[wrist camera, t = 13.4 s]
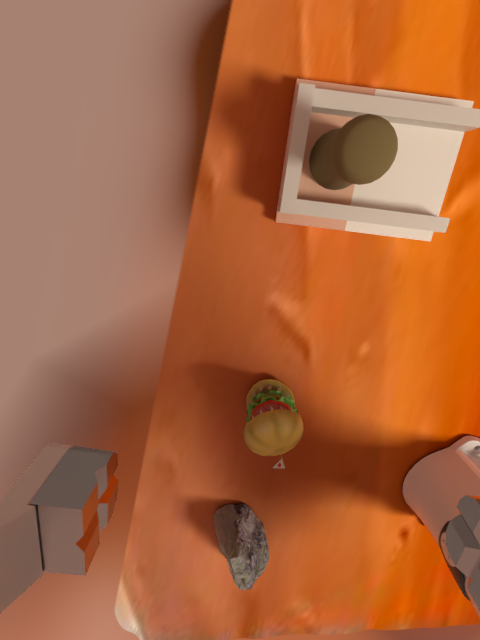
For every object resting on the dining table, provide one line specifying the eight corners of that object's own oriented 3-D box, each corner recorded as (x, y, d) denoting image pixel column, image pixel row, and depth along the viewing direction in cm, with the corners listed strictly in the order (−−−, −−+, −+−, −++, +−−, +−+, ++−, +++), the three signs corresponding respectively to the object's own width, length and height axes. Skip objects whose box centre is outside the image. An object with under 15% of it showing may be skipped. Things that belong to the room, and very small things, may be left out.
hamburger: (281, 364, 47) (290, 417, 36) (305, 402, 50) (321, 464, 38) (234, 388, 49) (228, 447, 38) (259, 424, 51) (261, 490, 40)
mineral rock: (264, 559, 61) (266, 626, 52) (205, 549, 61) (196, 615, 52) (280, 507, 57) (286, 570, 47) (216, 496, 57) (209, 557, 47)
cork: (302, 140, 36) (322, 120, 26) (359, 119, 36) (403, 90, 25) (316, 197, 38) (340, 200, 28) (370, 179, 37) (415, 175, 27)
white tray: (465, 104, 36) (497, 91, 31) (424, 239, 41) (446, 245, 36) (295, 82, 36) (301, 66, 31) (275, 221, 41) (278, 224, 36)
